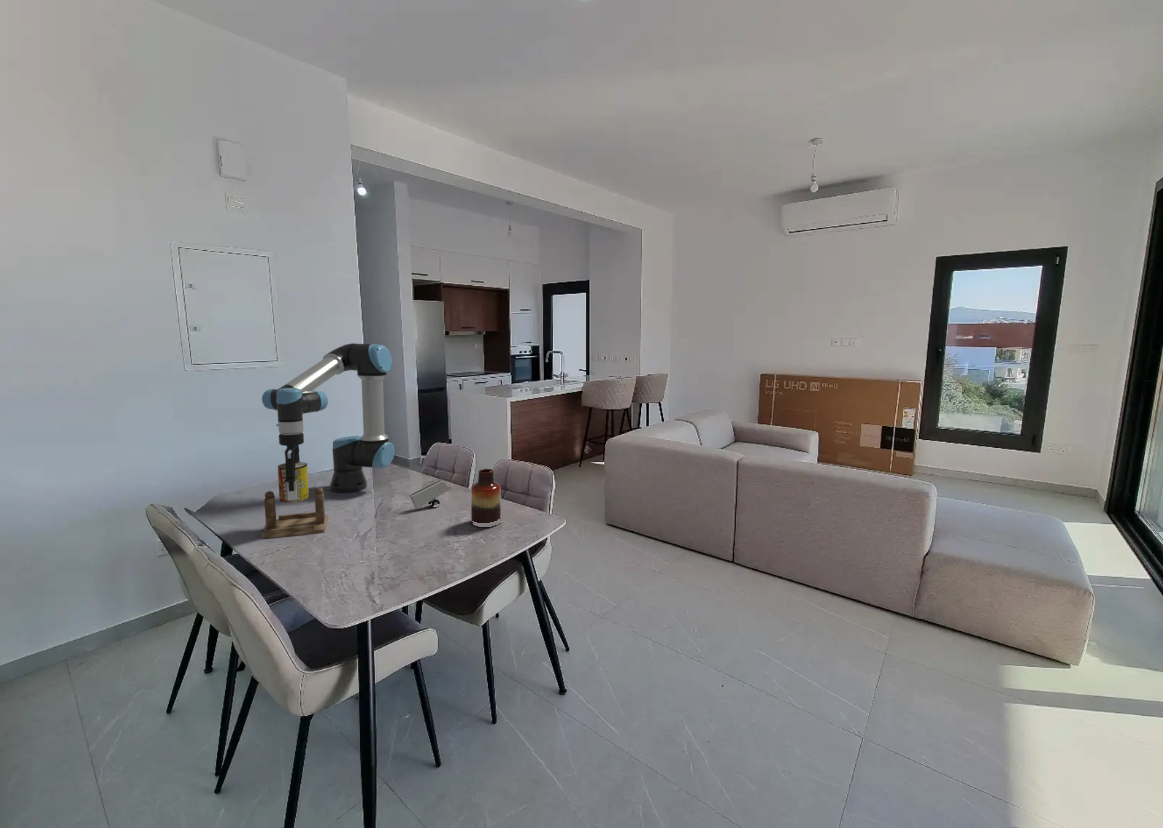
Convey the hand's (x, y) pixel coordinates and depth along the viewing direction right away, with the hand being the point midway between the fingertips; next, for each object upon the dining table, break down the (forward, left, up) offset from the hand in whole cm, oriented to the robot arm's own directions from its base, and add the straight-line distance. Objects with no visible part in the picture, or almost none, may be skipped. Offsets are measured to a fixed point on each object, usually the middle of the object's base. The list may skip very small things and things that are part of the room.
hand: (294, 495), depth 181 cm
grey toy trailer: (-41, -6, -10) cm, 42 cm away
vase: (-65, +15, -12) cm, 68 cm away
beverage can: (0, 0, -1) cm, 1 cm away
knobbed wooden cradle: (0, 0, -12) cm, 12 cm away
